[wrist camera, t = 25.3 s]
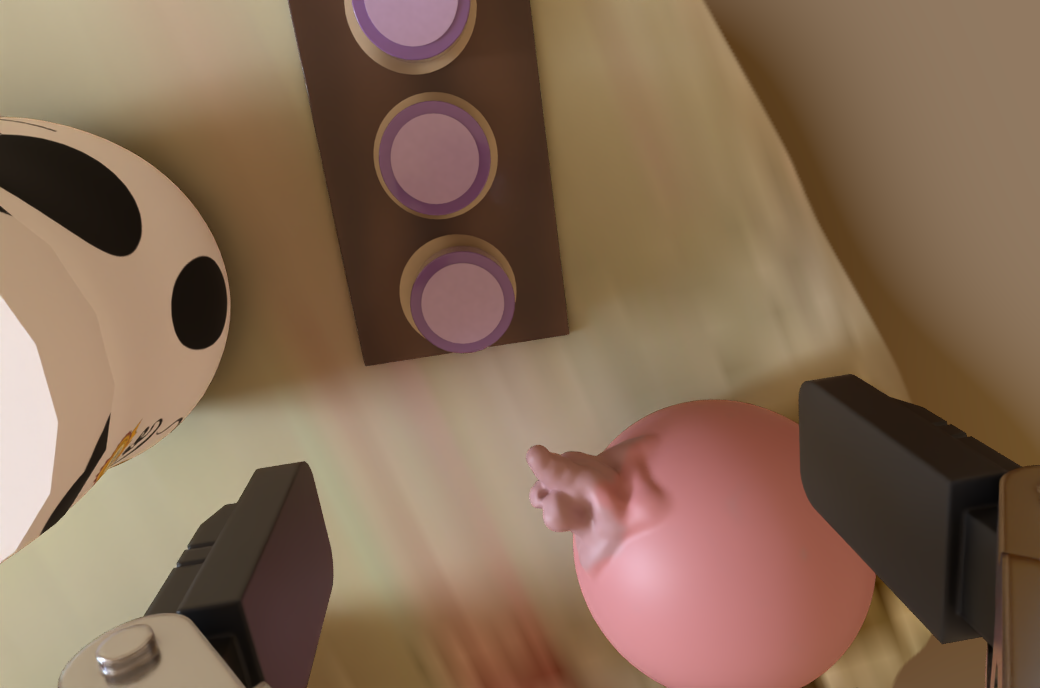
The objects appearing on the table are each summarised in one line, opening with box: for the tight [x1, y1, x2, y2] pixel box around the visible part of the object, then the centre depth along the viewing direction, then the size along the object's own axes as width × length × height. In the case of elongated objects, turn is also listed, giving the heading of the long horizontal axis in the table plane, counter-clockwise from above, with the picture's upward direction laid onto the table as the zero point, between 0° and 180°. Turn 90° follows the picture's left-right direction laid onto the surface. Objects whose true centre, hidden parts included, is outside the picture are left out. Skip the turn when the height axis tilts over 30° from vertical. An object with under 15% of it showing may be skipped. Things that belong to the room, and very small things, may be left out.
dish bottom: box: [379, 101, 491, 216], centre depth 37 cm, size 6×6×3 cm
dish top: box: [410, 246, 515, 353], centre depth 40 cm, size 6×6×3 cm
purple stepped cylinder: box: [351, 0, 471, 63], centre depth 35 cm, size 6×6×3 cm
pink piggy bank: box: [526, 400, 876, 688], centre depth 38 cm, size 15×20×15 cm
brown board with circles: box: [288, 0, 569, 366], centre depth 39 cm, size 12×22×1 cm, turn 8°
